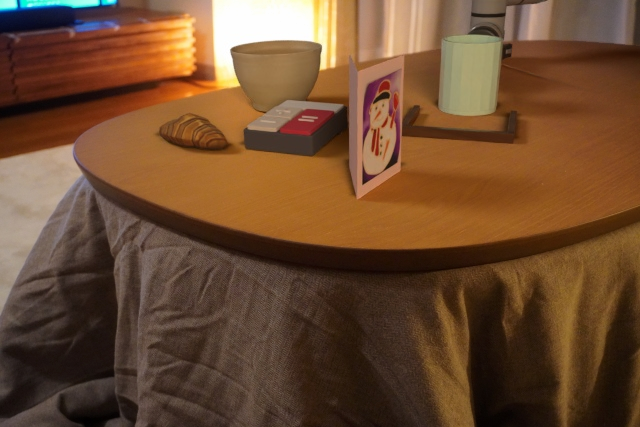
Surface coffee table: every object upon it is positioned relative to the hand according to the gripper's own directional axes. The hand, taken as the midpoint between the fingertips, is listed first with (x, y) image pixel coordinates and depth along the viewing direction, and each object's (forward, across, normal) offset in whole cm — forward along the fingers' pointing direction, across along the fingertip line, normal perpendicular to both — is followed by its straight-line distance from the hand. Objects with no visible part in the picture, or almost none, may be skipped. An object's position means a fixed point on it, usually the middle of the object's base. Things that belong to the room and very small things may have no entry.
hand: (471, 64), depth 111 cm
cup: (+5, 0, -7) cm, 9 cm away
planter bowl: (+12, +33, -7) cm, 36 cm away
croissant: (+36, +37, -7) cm, 52 cm away
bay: (+17, 0, -7) cm, 19 cm away
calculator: (+29, +23, -7) cm, 38 cm away
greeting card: (+44, +9, -7) cm, 46 cm away
